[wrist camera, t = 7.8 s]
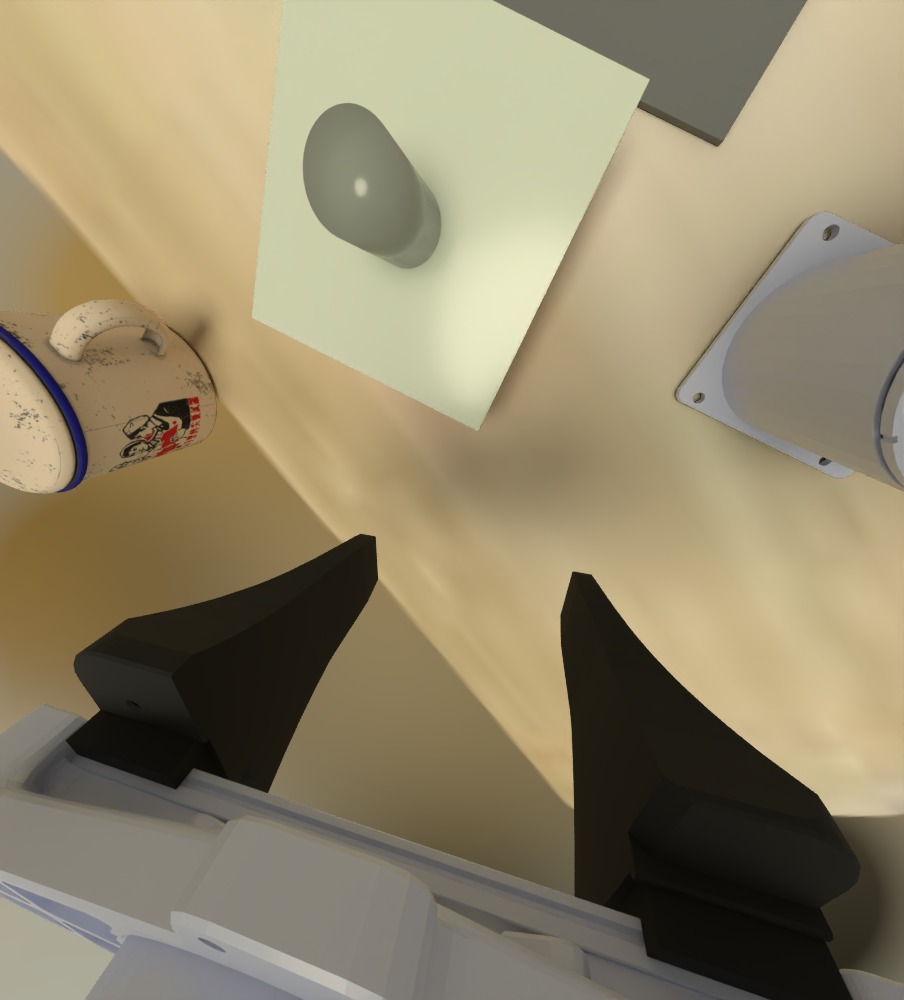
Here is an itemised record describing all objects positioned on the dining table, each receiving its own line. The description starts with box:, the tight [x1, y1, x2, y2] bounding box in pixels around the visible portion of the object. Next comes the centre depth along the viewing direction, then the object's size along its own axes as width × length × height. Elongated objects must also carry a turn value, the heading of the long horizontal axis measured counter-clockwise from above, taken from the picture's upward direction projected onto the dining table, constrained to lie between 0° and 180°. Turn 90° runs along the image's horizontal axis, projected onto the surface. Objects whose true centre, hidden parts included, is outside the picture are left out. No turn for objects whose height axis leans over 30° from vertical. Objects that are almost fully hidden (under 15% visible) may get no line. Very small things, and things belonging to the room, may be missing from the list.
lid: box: [252, 0, 650, 431], centre depth 11 cm, size 12×12×5 cm
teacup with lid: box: [0, 299, 217, 493], centre depth 18 cm, size 12×9×12 cm
